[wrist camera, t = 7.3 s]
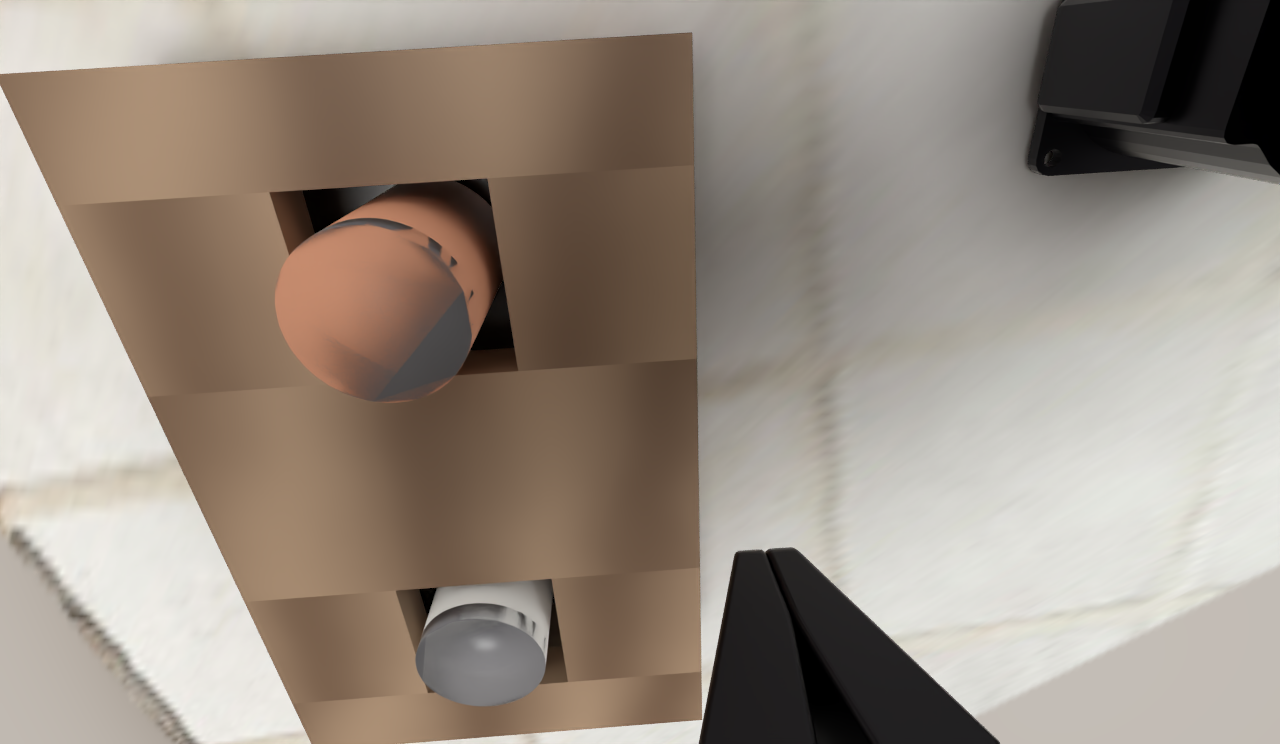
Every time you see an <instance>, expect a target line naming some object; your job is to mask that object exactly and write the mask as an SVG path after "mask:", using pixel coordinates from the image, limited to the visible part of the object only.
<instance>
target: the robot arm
mask: <svg viewBox="0 0 1280 744" xmlns="http://www.w3.org/2000/svg"><path fill="white" fill-rule="evenodd" d="M1038 105H1039V110H1038V115H1037V119H1036V124H1035V129H1034V133H1033V138H1032V142H1031V147H1030V151H1029V156H1028V165H1029V168H1030V170H1032V171H1033V172H1034V173H1037V174H1041V175H1046V176H1054V175H1069V174H1085V173H1100V172H1116V171H1131V170H1147V169H1162V168H1177V167H1189V168H1195V169H1200V170H1205V171H1211V172H1216V173H1221V174H1227V175H1232V176H1237V177H1242V178H1248V179H1253V180H1258V181H1264V182H1269V183H1274V184H1279V185H1280V0H1062V4H1061V5H1060V7H1059V8H1058V10H1057V14H1056V19H1055V23H1054V28H1053V33H1052V37H1051V42H1050V47H1049V51H1048V56H1047V60H1046V65H1045V70H1044V74H1043V79H1042V84H1041V88H1040V93H1039V97H1038ZM1051 150H1052V151H1053V157H1052V159H1051V161H1050V162H1049V163H1047V164H1044V158H1045V156H1046V154H1047V153H1049V152H1050V151H1051ZM699 744H1000V742H999V741H998V740H997V739H996V738H995V737H994V736H993V735H992V734H991V733H990V732H989V731H988V730H987V729H986V728H985V727H984V726H982V725H981V724H980V723H979V722H978V721H977V720H976V719H975V718H974V717H973V716H972V715H971V714H970V713H969V712H968V711H967V710H966V709H965V708H964V707H962V706H961V705H960V704H959V703H958V702H957V701H956V700H955V699H954V698H953V697H952V696H951V695H950V694H949V693H948V692H947V691H946V690H945V689H944V688H942V687H941V686H940V685H939V684H938V683H937V682H936V681H935V680H934V679H933V678H932V677H931V676H930V675H929V674H928V673H927V672H926V671H925V670H924V669H922V668H921V667H920V666H919V665H918V664H917V663H916V662H915V661H914V660H913V659H912V658H911V657H910V656H909V655H908V654H907V653H906V652H905V651H903V650H902V649H901V648H900V647H899V646H898V645H897V644H896V643H895V642H894V641H893V640H892V639H891V638H890V637H889V636H888V635H887V634H886V633H885V632H883V631H882V630H881V629H880V628H879V627H878V626H877V625H876V624H875V623H874V622H873V621H872V620H871V619H870V618H869V617H868V616H867V615H866V614H865V613H863V612H862V611H861V610H860V609H859V608H858V607H857V606H856V605H855V604H854V603H853V602H852V601H851V600H850V599H849V598H848V597H847V596H846V595H845V594H843V593H842V592H841V591H840V590H839V589H838V588H837V587H836V586H835V585H834V584H833V583H832V582H831V581H830V580H829V579H828V578H827V577H826V576H824V575H823V574H822V573H821V572H820V571H819V570H818V569H817V568H816V567H815V566H814V565H813V564H812V563H811V562H810V561H809V560H808V559H807V558H806V557H804V556H803V555H802V554H801V553H800V552H799V551H798V550H797V549H795V548H791V547H789V548H774V549H768V550H767V551H766V552H764V551H763V550H745V551H738V552H736V553H735V556H734V560H733V566H732V571H731V576H730V582H729V587H728V592H727V597H726V603H725V608H724V613H723V618H722V624H721V629H720V634H719V640H718V645H717V650H716V655H715V661H714V666H713V671H712V677H711V682H710V687H709V692H708V698H707V703H706V708H705V713H704V719H703V724H702V729H701V735H700V740H699Z"/></svg>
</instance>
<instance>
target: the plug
mask: <svg viewBox="0 0 1280 744" xmlns="http://www.w3.org/2000/svg"><path fill="white" fill-rule="evenodd" d="M552 599H553V585H552V579H543V580H530V581H517V582H503V583H490V584H477V585H463V586H450V587H437V590H436V593H435V596H434V599H433V602H432V605H431V608H430V612H429V615H428V618H427V621H426V624H425V627H424V630H423V633H422V636H421V640H420V643H419V646H418V649H417V652H416V658H415V662H416V668H417V671H418V674H419V676H420V677H421V679H422V680H423V682H424V683H425V684H426V685H427V686H428V687H429V688H430V689H431V690H433V691H434V692H435V693H437V694H438V695H440V696H442V697H444V698H446V699H449V700H451V701H454V702H457V703H461V704H465V705H471V706H497V705H503V704H507V703H510V702H514V701H516V700H518V699H521V698H523V697H524V696H526V695H528V694H529V693H530V692H532V691H533V690H534V689H535V688H536V687H537V686H538V685H539V683H540V682H541V680H542V678H543V676H544V673H545V668H546V658H547V649H548V639H549V629H550V619H551V609H552Z"/></svg>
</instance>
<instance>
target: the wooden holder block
mask: <svg viewBox="0 0 1280 744" xmlns="http://www.w3.org/2000/svg"><path fill="white" fill-rule="evenodd" d="M0 85H1V87H2V90H3V92H4V94H5V96H6V98H7V100H8V102H9V104H10V107H11V109H12V111H13V113H14V115H15V117H16V119H17V121H18V123H19V126H20V128H21V130H22V132H23V134H24V136H25V138H26V140H27V143H28V145H29V147H30V149H31V151H32V153H33V155H34V157H35V159H36V162H37V164H38V166H39V168H40V170H41V172H42V174H43V176H44V178H45V181H46V183H47V185H48V187H49V189H50V191H51V193H52V195H53V198H54V200H55V202H56V204H57V206H58V208H59V210H60V212H61V214H62V217H63V219H64V221H65V223H66V225H67V227H68V229H69V231H70V234H71V236H72V238H73V240H74V242H75V244H76V246H77V248H78V250H79V253H80V255H81V257H82V259H83V261H84V263H85V265H86V267H87V270H88V272H89V274H90V276H91V278H92V280H93V282H94V284H95V286H96V289H97V291H98V293H99V295H100V297H101V299H102V301H103V303H104V306H105V308H106V310H107V312H108V314H109V316H110V318H111V320H112V322H113V325H114V327H115V329H116V331H117V333H118V335H119V337H120V339H121V342H122V344H123V346H124V348H125V350H126V352H127V354H128V356H129V358H130V361H131V363H132V365H133V367H134V369H135V371H136V373H137V375H138V377H139V380H140V382H141V384H142V386H143V388H144V390H145V392H146V394H147V397H148V399H149V401H150V403H151V405H152V407H153V409H154V411H155V413H156V416H157V418H158V420H159V422H160V424H161V426H162V428H163V430H164V433H165V435H166V437H167V439H168V441H169V443H170V445H171V447H172V449H173V452H174V454H175V456H176V458H177V460H178V462H179V464H180V466H181V469H182V471H183V473H184V475H185V477H186V479H187V481H188V483H189V485H190V488H191V490H192V492H193V494H194V496H195V498H196V500H197V502H198V505H199V507H200V509H201V511H202V513H203V515H204V517H205V519H206V521H207V524H208V526H209V528H210V530H211V532H212V534H213V536H214V538H215V540H216V543H217V545H218V547H219V549H220V551H221V553H222V555H223V557H224V560H225V562H226V564H227V566H228V568H229V570H230V572H231V574H232V576H233V579H234V581H235V583H236V585H237V587H238V589H239V591H240V593H241V596H242V598H243V600H244V602H245V604H246V606H247V608H248V610H249V612H250V615H251V617H252V619H253V621H254V623H255V625H256V627H257V629H258V632H259V634H260V636H261V638H262V640H263V642H264V644H265V646H266V648H267V651H268V653H269V655H270V657H271V659H272V661H273V663H274V665H275V668H276V670H277V672H278V674H279V676H280V678H281V680H282V682H283V684H284V687H285V689H286V691H287V693H288V695H289V697H290V699H291V701H292V704H293V706H294V708H295V710H296V712H297V714H298V716H299V718H300V720H301V723H302V725H303V727H304V729H305V731H306V733H307V735H308V737H309V739H310V742H311V744H404V743H416V742H429V741H442V740H454V739H467V738H479V737H492V736H504V735H517V734H529V733H542V732H555V731H567V730H580V729H592V728H605V727H617V726H630V725H642V724H655V723H668V722H680V721H693V720H702V688H701V618H700V547H699V477H698V406H697V336H696V266H695V195H694V125H693V54H692V33H676V34H660V35H643V36H626V37H610V38H593V39H576V40H560V41H543V42H527V43H510V44H493V45H477V46H460V47H444V48H427V49H410V50H394V51H377V52H360V53H344V54H327V55H311V56H294V57H277V58H261V59H244V60H228V61H211V62H194V63H178V64H161V65H144V66H128V67H111V68H95V69H78V70H61V71H45V72H28V73H12V74H0ZM485 178H487V179H488V185H489V192H490V198H491V204H492V210H493V217H494V223H495V229H496V235H497V242H498V248H499V254H500V260H501V267H502V273H503V279H504V285H505V292H506V298H507V304H508V310H509V317H510V323H511V329H512V335H513V342H514V348H503V349H489V350H474V351H469V353H468V356H467V358H466V360H465V361H464V363H463V365H462V367H461V368H460V370H459V371H458V373H457V374H456V375H455V376H454V377H453V378H452V379H451V380H450V381H449V382H448V383H447V384H446V385H444V386H443V387H442V388H440V389H439V390H437V391H435V392H434V393H432V394H430V395H427V396H425V397H422V398H420V399H416V400H412V401H407V402H399V403H382V402H373V401H368V400H363V399H359V398H356V397H353V396H350V395H347V394H345V393H343V392H340V391H338V390H336V389H334V388H333V387H331V386H329V385H327V384H326V383H324V382H323V381H322V380H320V379H319V378H317V377H316V376H315V375H314V374H312V373H311V372H310V371H309V370H308V369H307V368H306V367H305V366H304V365H303V364H302V363H301V362H300V361H299V360H298V358H297V357H296V356H295V354H294V353H293V352H292V350H291V349H290V347H289V346H288V344H287V342H286V340H285V338H284V336H283V334H282V332H281V329H280V327H279V323H278V319H277V316H276V309H275V289H276V283H277V279H278V276H279V273H280V270H281V268H282V266H283V264H284V263H285V261H286V259H287V258H288V257H289V255H290V254H291V253H292V252H293V250H294V249H295V248H296V247H298V246H299V245H300V244H301V243H302V242H303V241H305V240H306V239H308V238H310V237H311V236H313V235H314V234H315V233H314V229H313V226H312V222H311V219H310V216H309V212H308V209H307V205H306V202H305V199H304V195H303V192H302V190H313V189H328V188H344V187H360V186H375V185H391V184H407V183H422V182H438V181H454V180H469V179H485ZM543 579H552V585H553V591H554V598H555V604H552V609H551V619H550V629H549V639H548V649H547V658H546V668H545V673H544V676H543V678H542V680H541V682H540V683H539V685H538V686H537V687H536V688H535V689H534V690H533V691H532V692H530V693H529V694H528V695H526V696H524V697H523V698H521V699H518V700H516V701H514V702H510V703H507V704H503V705H497V706H471V705H465V704H461V703H457V702H454V701H451V700H449V699H446V698H444V697H442V696H440V695H438V694H437V693H435V692H434V691H433V690H431V689H430V688H429V687H428V686H427V685H426V684H425V683H424V682H423V680H422V679H421V677H420V676H419V674H418V671H417V668H416V662H415V658H416V652H417V649H418V646H419V643H420V640H421V636H422V633H423V630H424V627H425V624H426V621H427V618H428V615H429V614H426V611H425V608H424V604H423V601H422V598H421V594H420V591H419V589H424V588H437V587H450V586H463V585H477V584H490V583H503V582H517V581H530V580H543Z"/></svg>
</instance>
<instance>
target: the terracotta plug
mask: <svg viewBox="0 0 1280 744" xmlns="http://www.w3.org/2000/svg"><path fill="white" fill-rule="evenodd" d="M502 281H503V273H502V267H501V260H500V254H499V248H498V242H497V235H496V229H495V223H494V217H493V210H492V208H491V206H490V205H489V204H488V203H487V202H486V201H485V200H484V199H483V198H482V197H481V196H480V195H478V194H477V193H475V192H474V191H473V190H471V189H470V188H468V187H466V186H464V185H462V184H460V183H457V182H455V181H438V182H422V183H407V184H397V185H395V186H394V187H392V188H390V189H389V190H387V191H385V192H384V193H382V194H380V195H379V196H377V197H376V198H374V199H372V200H371V201H369V202H367V203H366V204H364V205H362V206H361V207H359V208H357V209H356V210H354V211H352V212H351V213H349V214H347V215H346V216H344V217H342V218H341V219H339V220H337V221H336V222H334V223H332V224H331V225H329V226H327V227H326V228H324V229H323V230H321V231H319V232H318V233H316V234H314V235H313V236H311V237H310V238H308V239H306V240H305V241H303V242H302V243H301V244H300V245H299V246H298V247H296V248H295V249H294V250H293V252H292V253H291V254H290V255H289V257H288V258H287V259H286V261H285V263H284V264H283V266H282V268H281V270H280V273H279V276H278V279H277V283H276V289H275V309H276V316H277V319H278V323H279V327H280V329H281V332H282V334H283V336H284V338H285V340H286V342H287V344H288V346H289V347H290V349H291V350H292V352H293V353H294V354H295V356H296V357H297V358H298V360H299V361H300V362H301V363H302V364H303V365H304V366H305V367H306V368H307V369H308V370H309V371H310V372H311V373H312V374H314V375H315V376H316V377H317V378H319V379H320V380H322V381H323V382H324V383H326V384H327V385H329V386H331V387H333V388H334V389H336V390H338V391H340V392H343V393H345V394H347V395H350V396H353V397H356V398H359V399H363V400H368V401H373V402H382V403H399V402H407V401H412V400H416V399H420V398H422V397H425V396H427V395H430V394H432V393H434V392H435V391H437V390H439V389H440V388H442V387H443V386H444V385H446V384H447V383H448V382H449V381H450V380H451V379H452V378H453V377H454V376H455V375H456V374H457V373H458V371H459V370H460V368H461V367H462V365H463V363H464V361H465V360H466V358H467V356H468V353H469V351H470V349H471V347H472V345H473V343H474V341H475V338H476V336H477V334H478V332H479V330H480V328H481V326H482V324H483V321H484V319H485V317H486V315H487V313H488V311H489V309H490V306H491V304H492V302H493V300H494V298H495V296H496V294H497V292H498V289H499V287H500V285H501V283H502Z"/></svg>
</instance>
